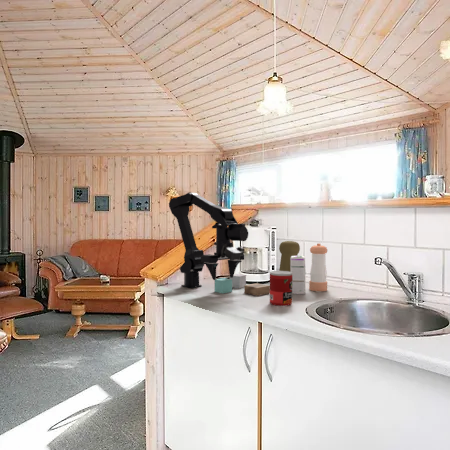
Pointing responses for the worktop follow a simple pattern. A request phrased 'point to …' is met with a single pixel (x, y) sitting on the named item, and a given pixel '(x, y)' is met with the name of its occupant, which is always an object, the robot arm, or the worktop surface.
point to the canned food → (281, 288)
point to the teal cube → (223, 285)
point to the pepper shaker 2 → (318, 269)
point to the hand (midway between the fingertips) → (223, 278)
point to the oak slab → (256, 289)
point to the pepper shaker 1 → (287, 254)
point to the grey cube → (238, 280)
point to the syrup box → (298, 274)
